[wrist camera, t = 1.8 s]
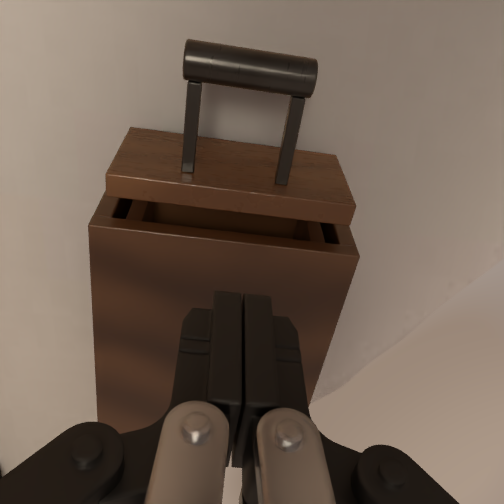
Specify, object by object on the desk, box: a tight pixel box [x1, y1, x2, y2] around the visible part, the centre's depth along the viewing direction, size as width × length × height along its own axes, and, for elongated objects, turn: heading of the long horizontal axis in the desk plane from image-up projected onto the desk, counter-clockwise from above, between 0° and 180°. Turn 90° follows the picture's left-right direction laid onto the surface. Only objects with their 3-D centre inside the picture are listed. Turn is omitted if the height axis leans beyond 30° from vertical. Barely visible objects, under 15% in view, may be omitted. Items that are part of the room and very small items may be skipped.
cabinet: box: [88, 191, 360, 434], centre depth 30 cm, size 16×13×8 cm
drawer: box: [106, 39, 356, 243], centre depth 27 cm, size 20×12×6 cm, turn 171°
